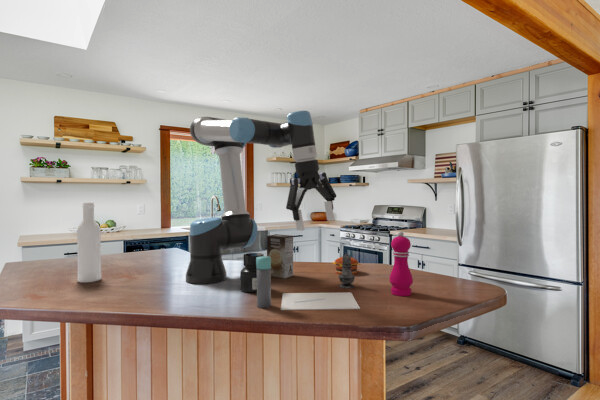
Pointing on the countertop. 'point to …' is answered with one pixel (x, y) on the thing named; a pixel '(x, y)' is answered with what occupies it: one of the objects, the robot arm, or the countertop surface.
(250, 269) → the ink bottle
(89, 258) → the bottle
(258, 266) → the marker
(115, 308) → the countertop surface
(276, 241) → the coffee box
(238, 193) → the robot arm
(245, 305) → the countertop surface
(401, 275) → the pepper mill
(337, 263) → the hamburger
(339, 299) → the paper
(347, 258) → the chess piece
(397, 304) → the countertop surface
